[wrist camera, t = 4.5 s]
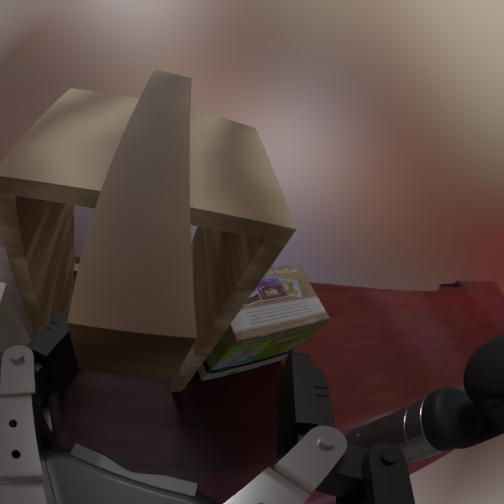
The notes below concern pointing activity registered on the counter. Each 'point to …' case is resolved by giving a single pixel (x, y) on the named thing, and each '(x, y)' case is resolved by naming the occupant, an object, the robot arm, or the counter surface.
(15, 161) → the wooden open box
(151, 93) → the batten
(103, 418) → the counter surface
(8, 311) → the riser block
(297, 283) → the tea box
